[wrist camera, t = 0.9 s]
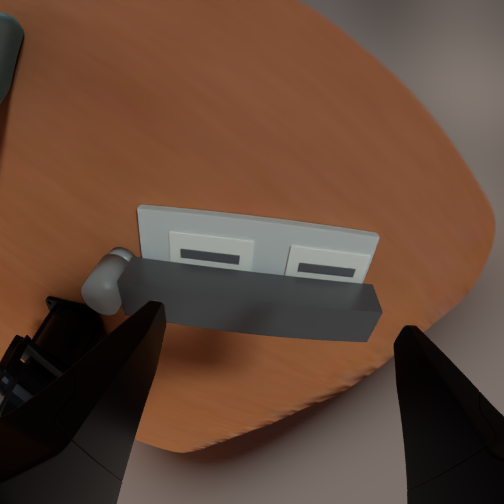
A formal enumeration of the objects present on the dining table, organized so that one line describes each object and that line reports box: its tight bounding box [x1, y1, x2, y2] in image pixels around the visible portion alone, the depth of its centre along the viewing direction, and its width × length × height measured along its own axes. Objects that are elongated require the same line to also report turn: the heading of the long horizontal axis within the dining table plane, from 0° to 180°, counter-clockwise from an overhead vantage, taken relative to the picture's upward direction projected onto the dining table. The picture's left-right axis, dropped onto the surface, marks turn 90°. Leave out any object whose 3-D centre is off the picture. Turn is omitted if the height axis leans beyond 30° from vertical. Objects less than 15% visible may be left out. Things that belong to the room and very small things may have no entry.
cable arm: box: [81, 254, 382, 342], centre depth 19 cm, size 20×3×3 cm, turn 84°
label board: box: [109, 205, 380, 284], centre depth 21 cm, size 19×10×1 cm, turn 84°
